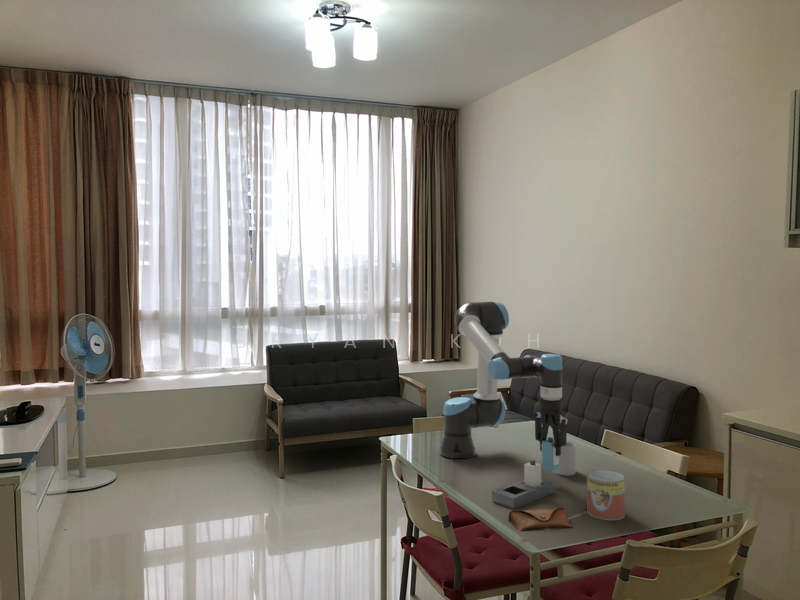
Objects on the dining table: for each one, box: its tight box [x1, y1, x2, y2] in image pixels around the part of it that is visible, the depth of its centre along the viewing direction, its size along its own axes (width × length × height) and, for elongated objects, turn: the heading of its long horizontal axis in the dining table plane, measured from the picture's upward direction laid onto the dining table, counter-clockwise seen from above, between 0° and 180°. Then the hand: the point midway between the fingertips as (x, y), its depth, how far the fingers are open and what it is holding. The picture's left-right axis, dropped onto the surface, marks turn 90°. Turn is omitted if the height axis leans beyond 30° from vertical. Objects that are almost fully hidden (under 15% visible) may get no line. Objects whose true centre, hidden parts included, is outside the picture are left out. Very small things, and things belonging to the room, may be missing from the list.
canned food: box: [586, 469, 626, 521], centre depth 187 cm, size 11×11×12 cm
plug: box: [541, 436, 558, 472], centre depth 212 cm, size 4×4×11 cm
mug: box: [552, 441, 577, 476], centre depth 228 cm, size 12×8×11 cm
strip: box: [491, 478, 555, 510], centre depth 200 cm, size 22×9×4 cm, turn 131°
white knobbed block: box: [523, 459, 542, 488], centre depth 203 cm, size 4×4×11 cm
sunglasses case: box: [508, 507, 574, 532], centre depth 180 cm, size 18×7×7 cm
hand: (550, 462), depth 212 cm, fingers closed on plug, 4 cm apart
